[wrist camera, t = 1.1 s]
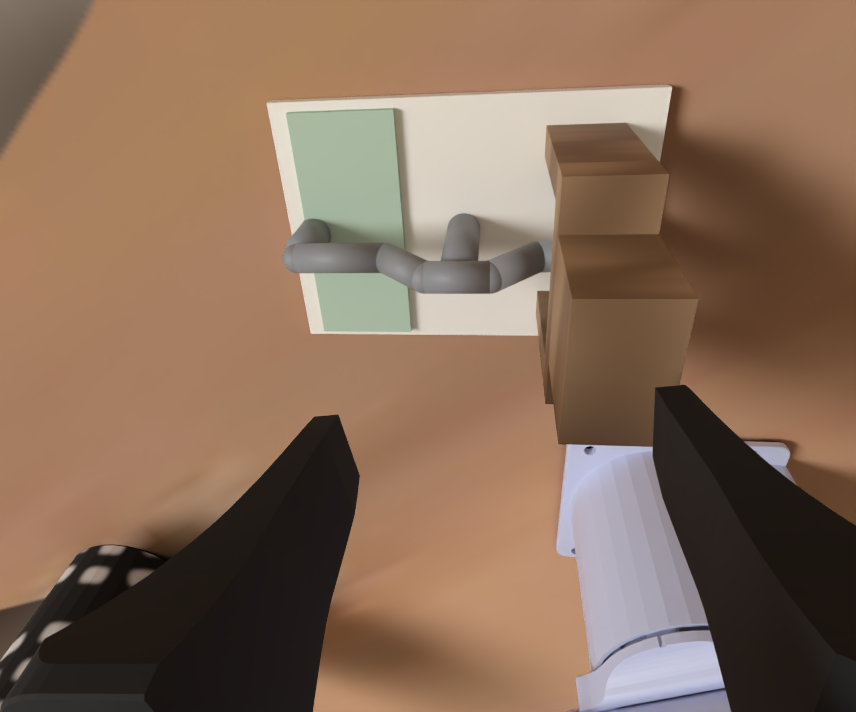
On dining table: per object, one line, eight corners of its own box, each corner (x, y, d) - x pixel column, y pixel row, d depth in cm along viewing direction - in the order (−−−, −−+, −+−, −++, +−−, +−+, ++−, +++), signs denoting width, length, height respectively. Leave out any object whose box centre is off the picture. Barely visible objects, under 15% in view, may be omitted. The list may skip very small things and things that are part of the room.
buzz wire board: (668, 84, 18) (718, 117, 14) (628, 329, 23) (657, 407, 19) (271, 100, 20) (211, 134, 15) (314, 327, 25) (276, 399, 20)
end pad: (394, 107, 19) (392, 109, 19) (411, 328, 24) (411, 331, 23) (288, 111, 19) (285, 113, 19) (326, 327, 24) (324, 331, 24)
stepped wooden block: (626, 122, 18) (715, 228, 11) (601, 314, 22) (654, 491, 15) (546, 125, 19) (579, 229, 11) (535, 313, 23) (554, 487, 15)
